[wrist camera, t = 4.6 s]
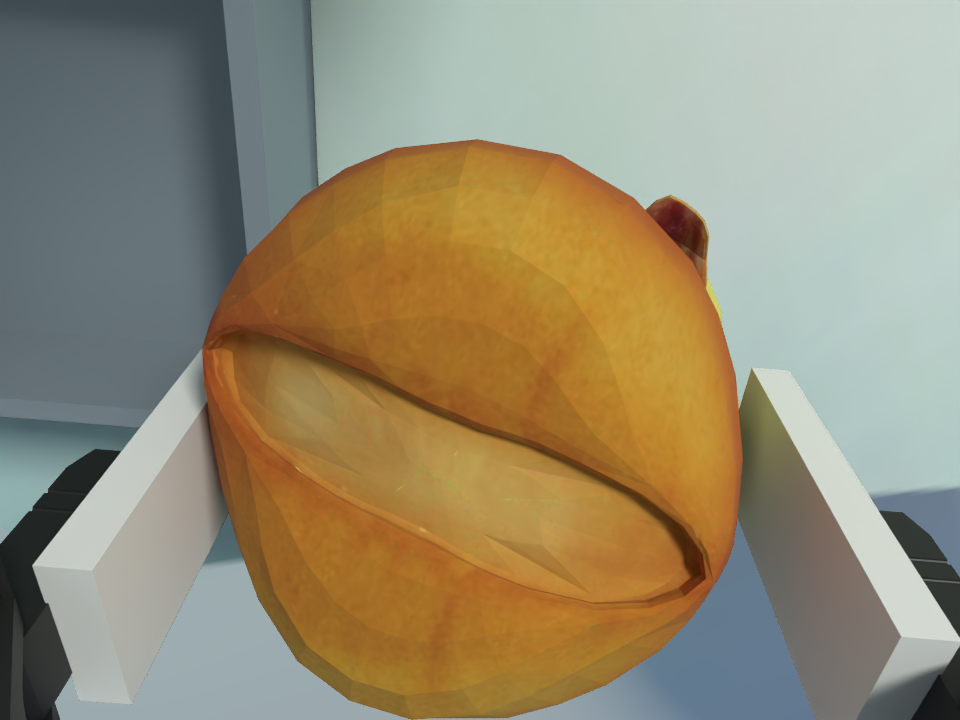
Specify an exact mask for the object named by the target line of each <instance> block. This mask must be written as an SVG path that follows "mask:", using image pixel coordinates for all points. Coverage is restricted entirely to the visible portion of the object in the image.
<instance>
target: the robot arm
mask: <svg viewBox="0 0 960 720" xmlns="http://www.w3.org/2000/svg"><path fill="white" fill-rule="evenodd" d="M739 420H740V431H741V443H742V454H743V463H742V474H741V485H740V495H739V506H738V516H737V517H738V519H739V522H740V525H741V527H742V530H743V532H744V535H745V537H746V540H747V543H748V545H749V548H750V550H751V553H752V556H753V558H754V561H755V564H756V566H757V569H758V571H759V574H760V576H761V579H762V582H763V584H764V587H765V589H766V592H767V595H768V597H769V600H770V602H771V605H772V607H773V610H774V613H775V615H776V618H777V621H778V623H779V626H780V628H781V631H782V634H783V636H784V639H785V641H786V644H787V647H788V649H789V652H790V654H791V657H792V659H793V662H794V665H795V667H796V670H797V673H798V675H799V678H800V680H801V683H802V686H803V688H804V691H805V693H806V696H807V699H808V701H809V704H810V706H811V709H812V711H813V714H814V717H815V719H816V720H960V577H959V576H958V574H957V573H956V572H955V570H954V569H953V567H952V566H951V565H948V564H947V559H946V557H945V556H944V554H943V553H942V552H941V550H940V549H939V547H938V546H937V545H936V543H935V542H934V540H933V539H932V537H931V536H930V535H929V534H928V533H927V532H926V531H924V530H923V529H922V528H921V527H920V526H918V525H917V524H916V523H915V522H913V521H912V520H911V519H910V518H908V516H906V515H905V514H904V513H902V512H889V511H878V509H877V508H876V506H875V505H874V503H873V501H872V500H871V498H870V497H869V495H868V494H867V492H866V490H865V489H864V487H863V486H862V484H861V483H860V481H859V480H858V478H857V476H856V475H855V473H854V472H853V470H852V469H851V467H850V465H849V464H848V462H847V461H846V459H845V458H844V456H843V455H842V453H841V451H840V450H839V448H838V447H837V445H836V444H835V442H834V440H833V439H832V437H831V436H830V434H829V433H828V431H827V429H826V428H825V426H824V425H823V423H822V422H821V420H820V419H819V417H818V415H817V414H816V412H815V411H814V409H813V408H812V406H811V404H810V403H809V401H808V400H807V398H806V397H805V395H804V393H803V392H802V390H801V389H800V387H799V386H798V384H797V383H796V381H795V379H794V378H793V376H792V375H791V373H790V372H789V371H787V370H775V369H762V368H752V369H751V372H750V375H749V379H748V382H747V385H746V389H745V392H744V395H743V399H742V402H741V405H740V408H739ZM228 514H229V511H228V507H227V504H226V500H225V497H224V493H223V489H222V486H221V480H220V475H219V470H218V465H217V459H216V454H215V449H214V444H213V439H212V433H211V428H210V421H209V412H208V403H207V395H206V391H205V387H204V374H203V355H202V349H201V350H200V352H199V353H198V354H197V356H196V357H195V358H194V359H193V361H192V362H191V363H190V365H189V366H188V367H187V368H186V370H185V371H184V372H183V373H182V375H181V376H180V377H179V379H178V380H177V381H176V382H175V384H174V385H173V386H172V388H171V389H170V390H169V391H168V393H167V394H166V395H165V396H164V398H163V399H162V400H161V402H160V403H159V404H158V405H157V407H156V408H155V409H154V411H153V412H152V413H151V414H150V416H149V417H148V418H147V419H146V421H145V422H144V423H143V425H142V426H141V427H140V428H139V430H138V431H137V432H136V434H135V435H134V436H133V437H132V439H131V440H130V441H129V442H128V444H127V445H126V446H125V448H124V449H123V450H122V451H113V450H100V449H95V450H93V451H91V452H90V453H88V454H87V455H85V456H84V457H82V458H80V459H79V460H77V461H76V462H74V463H73V464H71V465H69V466H68V467H67V468H66V469H65V470H64V471H63V472H62V473H61V475H60V476H59V477H58V478H57V479H56V480H55V482H54V483H53V484H52V485H51V486H50V487H49V488H48V493H44V494H43V495H42V497H41V498H40V499H39V500H38V501H37V502H36V504H35V505H34V506H33V510H32V512H31V511H29V512H28V513H27V514H26V515H25V516H24V517H23V519H22V520H21V521H20V522H19V523H18V524H17V526H16V527H15V528H14V529H13V530H12V531H11V532H10V534H9V535H8V536H7V537H6V538H5V539H4V541H3V542H2V543H1V544H0V720H60V717H59V714H58V711H57V709H56V705H55V703H54V702H55V701H56V699H57V697H58V696H59V694H60V692H61V691H62V689H63V688H64V686H65V684H66V683H67V681H68V679H69V678H70V676H71V678H72V681H73V684H74V687H75V689H76V693H77V696H78V698H79V701H89V702H102V703H114V704H125V705H132V703H133V701H134V699H135V697H136V695H137V693H138V691H139V689H140V687H141V685H142V683H143V681H144V679H145V677H146V675H147V673H148V671H149V669H150V667H151V665H152V663H153V661H154V659H155V657H156V655H157V654H158V651H159V650H160V648H161V646H162V644H163V642H164V640H165V638H166V636H167V634H168V632H169V630H170V628H171V626H172V624H173V622H174V620H175V618H176V616H177V614H178V612H179V610H180V608H181V606H182V604H183V602H184V600H185V598H186V596H187V594H188V593H189V591H190V588H191V587H192V585H193V582H194V581H195V579H196V577H197V575H198V573H199V571H200V569H201V567H202V565H203V563H204V561H205V559H206V557H207V555H208V553H209V551H210V549H211V547H212V545H213V543H214V541H215V539H216V537H217V535H218V533H219V531H220V530H221V528H222V526H223V524H224V522H225V520H226V518H227V516H228Z"/></svg>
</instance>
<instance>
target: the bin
mask: <svg viewBox="0 0 960 720" xmlns="http://www.w3.org/2000/svg"><path fill="white" fill-rule="evenodd" d="M317 187H318V168H317V145H316V122H315V99H314V75H313V52H312V29H311V6H310V0H0V417H12V418H25V419H37V420H50V421H62V422H74V423H87V424H99V425H112V426H124V427H137V428H140V427H141V426H142V425H143V423H144V422H145V421H146V419H147V418H148V417H149V416H150V414H151V413H152V412H153V411H154V409H155V408H156V407H157V405H158V404H159V403H160V402H161V400H162V399H163V398H164V396H165V395H166V394H167V393H168V391H169V390H170V389H171V388H172V386H173V385H174V384H175V382H176V381H177V380H178V379H179V377H180V376H181V375H182V373H183V372H184V371H185V370H186V368H187V367H188V366H189V365H190V363H191V362H192V361H193V359H194V358H195V357H196V356H197V354H198V353H199V352H200V350H201V349H202V347H203V344H204V340H205V337H206V334H207V330H208V327H209V324H210V321H211V319H212V316H213V314H214V312H215V310H216V308H217V305H218V303H219V301H220V299H221V297H222V295H223V293H224V292H225V290H226V288H227V286H228V285H229V283H230V281H231V280H232V278H233V276H234V274H235V273H236V271H237V269H238V267H239V266H240V264H241V262H242V260H243V259H244V258H245V257H246V256H247V255H248V254H249V253H250V252H251V251H252V250H253V249H254V248H255V247H256V246H257V245H258V244H259V243H260V242H261V241H262V240H263V239H264V238H265V237H266V236H267V235H268V234H269V233H270V232H271V231H272V230H273V229H274V228H275V227H276V226H277V225H278V223H279V222H280V221H281V220H282V219H283V218H284V217H285V216H286V214H287V213H288V212H289V211H290V210H291V209H292V208H293V207H294V206H295V204H296V203H297V202H298V201H299V200H300V199H301V198H302V197H303V196H305V195H306V194H308V193H309V192H311V191H312V190H314V189H315V188H317Z"/></svg>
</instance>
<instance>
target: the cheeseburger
mask: <svg viewBox="0 0 960 720" xmlns="http://www.w3.org/2000/svg"><path fill="white" fill-rule="evenodd" d="M708 241H709V233H708V229H707V226H706V223H705V220H704V219H703V218H702V217H701V216H700V214H699V213H698V212H697V211H696V210H694V209H693V208H692V207H691V206H689V205H688V204H687V203H685V202H684V201H682V200H680V199H678V198H676V197H674V196H672V195H669V196H666V197H664V198H661V199H659V200H656V201H655V202H654V203H653V204H652V205H651V206H649V207H648V208H647V209H646V210H644V208H643V207H642V206H641V205H640V204H639V203H638V202H637V201H636V200H635V199H634V198H633V197H631V196H629V195H628V194H626V193H624V192H623V191H621V190H619V189H618V188H616V187H614V186H612V185H611V184H609V183H607V182H606V181H604V180H602V179H601V178H599V177H597V176H595V175H594V174H592V173H590V172H589V171H587V170H585V169H584V168H582V167H580V166H578V165H577V164H575V163H573V162H572V161H570V160H568V159H567V158H565V157H563V156H561V155H558V154H553V153H548V152H542V151H537V150H531V149H526V148H521V147H515V146H510V145H504V144H499V143H494V142H488V141H483V140H478V139H477V140H467V141H458V142H449V143H440V144H430V145H421V146H412V147H403V148H395V149H392V150H390V151H387V152H385V153H382V154H380V155H378V156H375V157H373V158H370V159H368V160H365V161H363V162H360V163H358V164H355V165H353V166H351V167H348V168H346V169H344V170H343V171H341V172H340V173H338V174H336V175H335V176H333V177H332V178H330V179H329V180H327V181H326V182H324V183H323V184H321V185H320V186H318V187H317V188H315V189H314V190H312V191H311V192H309V193H308V194H306V195H305V196H303V197H302V198H301V199H300V200H299V201H298V202H297V203H296V204H295V206H294V207H293V208H292V209H291V210H290V211H289V212H288V213H287V214H286V216H285V217H284V218H283V219H282V220H281V221H280V222H279V223H278V225H277V226H276V227H275V228H274V229H273V230H272V231H271V232H270V233H269V234H268V235H267V236H266V237H265V238H264V239H263V240H262V241H261V242H260V243H259V244H258V245H257V246H256V247H255V248H254V249H253V250H252V251H251V252H250V253H249V254H248V255H247V256H246V257H245V258H244V259H243V260H242V262H241V264H240V266H239V267H238V269H237V271H236V273H235V274H234V276H233V278H232V280H231V281H230V283H229V285H228V286H227V288H226V290H225V292H224V293H223V295H222V297H221V299H220V301H219V303H218V305H217V308H216V310H215V312H214V314H213V316H212V319H211V321H210V324H209V327H208V330H207V334H206V337H205V340H204V344H203V347H202V355H203V374H204V387H205V391H206V395H207V403H208V412H209V421H210V428H211V433H212V439H213V444H214V449H215V454H216V459H217V465H218V470H219V475H220V480H221V486H222V489H223V493H224V497H225V500H226V504H227V507H228V511H229V514H230V518H231V521H232V525H233V528H234V532H235V535H236V539H237V542H238V544H239V547H240V550H241V553H242V555H243V558H244V561H245V564H246V566H247V569H248V572H249V575H250V577H251V580H252V583H253V585H254V589H255V591H256V594H257V597H258V600H259V601H260V603H261V604H262V606H263V608H264V609H265V610H266V612H267V614H268V615H269V617H270V619H271V620H272V622H273V623H274V625H275V626H276V628H277V630H278V631H279V632H280V634H281V636H282V637H283V639H284V641H285V642H286V644H287V645H288V647H289V648H290V650H291V652H292V653H293V655H294V656H295V658H296V659H297V661H298V662H299V663H301V664H302V665H303V666H305V667H306V668H307V669H309V670H310V671H311V672H313V673H314V674H315V675H317V676H318V677H319V678H321V679H322V680H323V681H324V682H326V683H327V684H328V685H330V686H331V687H333V688H334V689H335V690H336V691H338V692H339V693H341V694H342V695H343V696H345V697H346V698H347V699H348V700H350V701H353V702H356V703H360V704H363V705H366V706H369V707H372V708H376V709H379V710H382V711H385V712H389V713H392V714H395V715H398V716H402V717H405V718H408V719H412V720H413V719H425V718H509V717H512V716H516V715H520V714H524V713H527V712H532V711H535V710H539V709H543V708H546V707H550V706H554V705H558V704H561V703H563V702H565V701H568V700H570V699H573V698H575V697H578V696H580V695H582V694H585V693H588V692H590V691H593V690H595V689H597V688H600V687H602V686H605V685H607V684H609V683H610V682H612V681H613V680H615V679H616V678H618V677H619V676H621V675H623V674H624V673H626V672H627V671H629V670H630V669H632V668H633V667H635V666H637V665H638V664H639V663H641V662H643V661H644V660H646V659H647V658H649V657H650V656H652V655H654V654H655V653H657V652H658V651H660V650H661V649H662V648H663V647H664V646H665V645H666V644H667V643H668V642H669V641H670V640H671V639H672V638H673V637H674V636H675V635H676V634H677V633H678V632H679V631H680V630H681V629H682V628H683V627H684V626H685V624H686V623H687V622H688V621H689V620H690V619H691V618H692V617H693V615H694V614H695V613H696V611H697V610H698V608H699V607H700V605H701V604H702V603H703V602H704V600H705V599H706V597H707V596H708V594H709V593H710V591H711V589H712V588H713V586H714V584H715V583H716V582H717V580H718V579H719V577H720V575H721V573H722V572H723V570H724V568H725V566H726V564H727V562H728V559H729V557H730V554H731V551H732V548H733V545H734V538H735V531H736V525H737V516H738V506H739V495H740V485H741V474H742V463H743V454H742V443H741V431H740V420H739V400H738V396H737V386H736V375H735V371H734V368H733V364H732V361H731V357H730V353H729V350H728V346H727V343H726V339H725V336H724V332H723V328H722V325H721V322H722V311H721V308H720V306H719V303H718V301H717V298H716V296H715V293H714V291H713V289H712V286H711V284H710V281H709V279H708V277H707V252H708Z"/></svg>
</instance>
